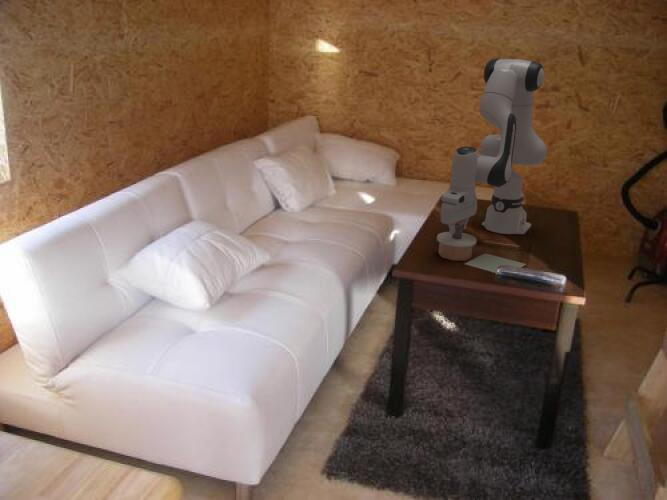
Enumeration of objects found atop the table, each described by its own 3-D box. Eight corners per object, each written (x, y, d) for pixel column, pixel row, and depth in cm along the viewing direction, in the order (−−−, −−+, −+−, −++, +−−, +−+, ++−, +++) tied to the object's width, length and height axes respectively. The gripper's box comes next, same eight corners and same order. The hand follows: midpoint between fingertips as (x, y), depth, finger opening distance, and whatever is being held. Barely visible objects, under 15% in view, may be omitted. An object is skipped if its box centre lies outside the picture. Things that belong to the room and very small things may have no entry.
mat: (484, 254, 238) (485, 253, 237) (526, 265, 228) (526, 264, 228) (463, 265, 226) (464, 263, 226) (506, 277, 216) (506, 275, 216)
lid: (448, 232, 242) (450, 219, 240) (483, 241, 234) (484, 227, 232) (429, 240, 231) (431, 226, 230) (464, 249, 223) (466, 235, 221)
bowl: (448, 249, 242) (450, 234, 240) (475, 256, 235) (477, 241, 233) (433, 256, 234) (435, 240, 232) (460, 264, 227) (462, 247, 225)
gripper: (467, 187, 236) (463, 223, 241) (439, 196, 221) (435, 235, 226) (483, 190, 233) (478, 227, 237) (455, 200, 217) (451, 239, 222)
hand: (457, 231), depth 231 cm, fingers open, 6 cm apart
